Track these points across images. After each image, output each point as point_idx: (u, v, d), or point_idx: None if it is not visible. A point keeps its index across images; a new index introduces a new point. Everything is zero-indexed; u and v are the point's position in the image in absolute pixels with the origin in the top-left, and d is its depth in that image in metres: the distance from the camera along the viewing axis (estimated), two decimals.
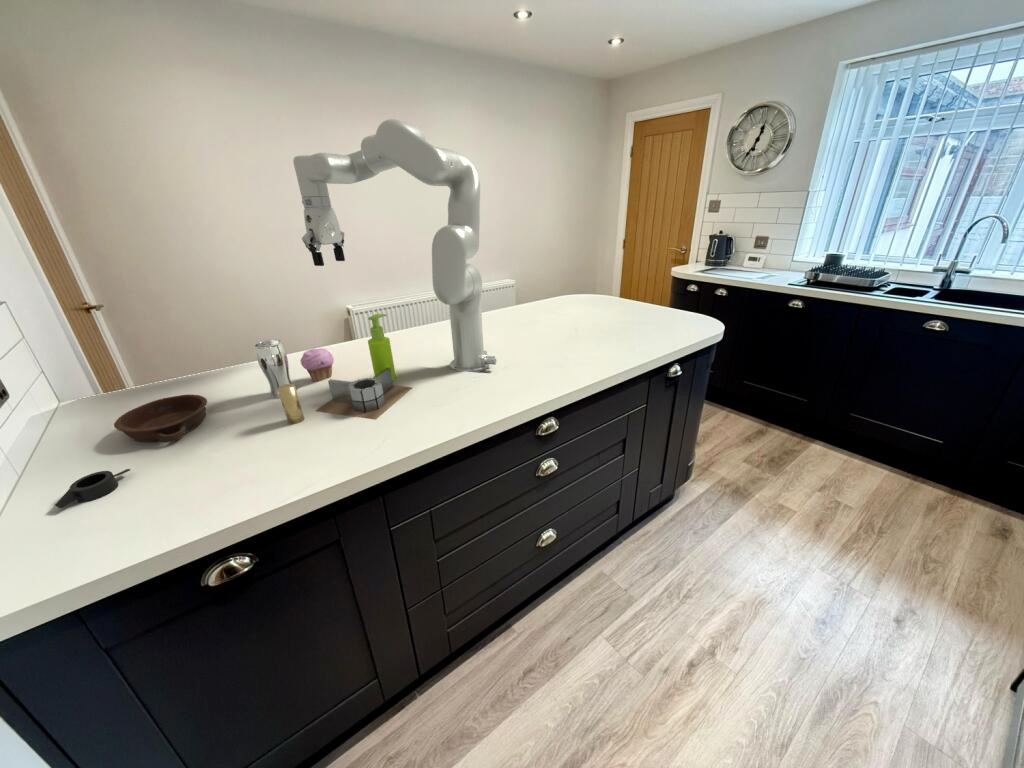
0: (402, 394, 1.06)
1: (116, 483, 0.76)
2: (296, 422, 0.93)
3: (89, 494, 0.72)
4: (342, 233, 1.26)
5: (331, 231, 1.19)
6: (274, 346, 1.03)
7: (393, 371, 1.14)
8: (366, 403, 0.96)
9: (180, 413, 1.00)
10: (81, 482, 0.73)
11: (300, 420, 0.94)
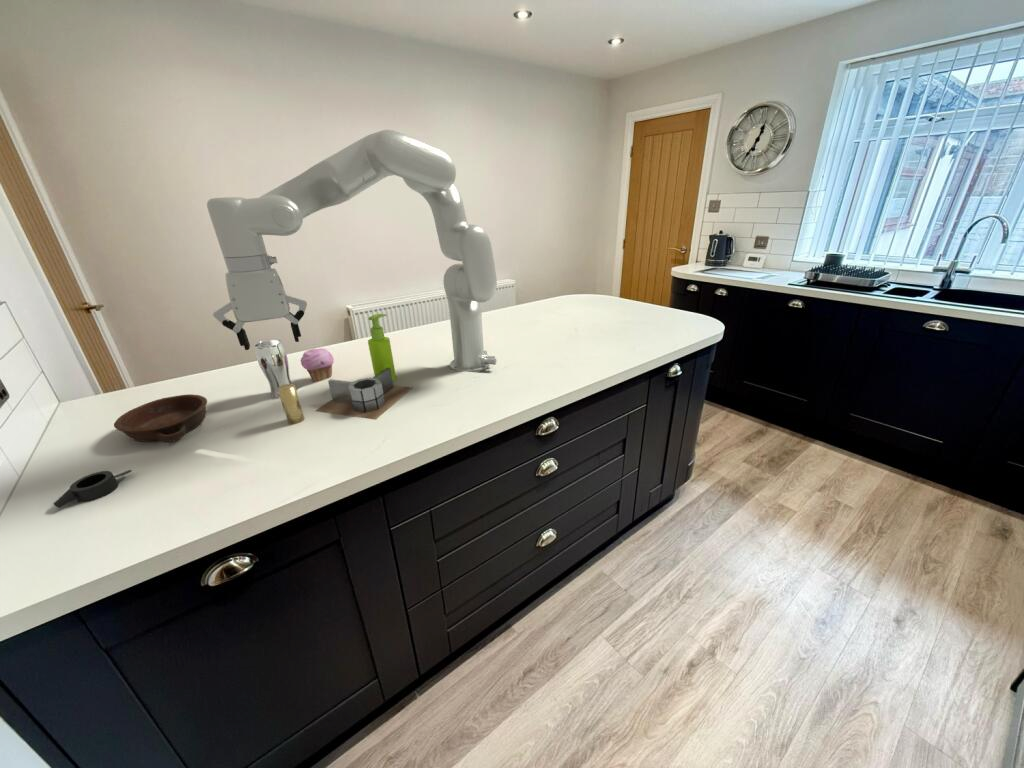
0: (402, 394, 1.06)
1: (115, 484, 0.75)
2: (296, 422, 0.93)
3: (86, 495, 0.71)
4: None
5: None
6: (274, 346, 1.03)
7: (393, 371, 1.14)
8: (366, 403, 0.96)
9: (180, 413, 1.00)
10: (82, 481, 0.74)
11: (300, 420, 0.94)
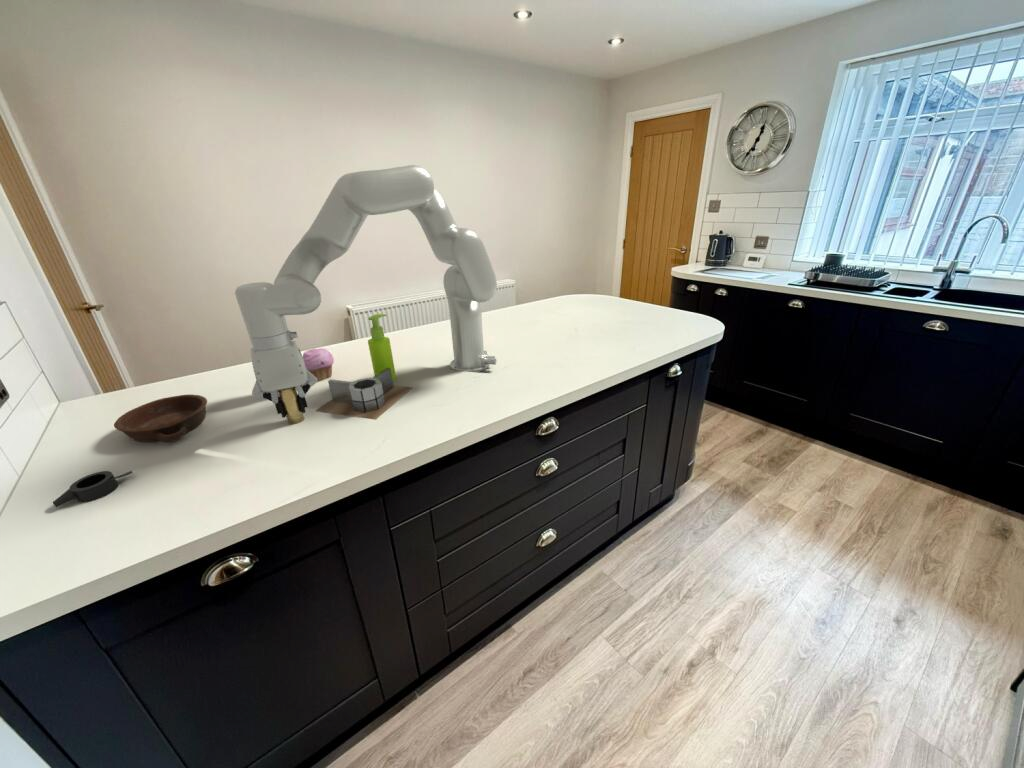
0: (402, 394, 1.06)
1: (114, 486, 0.75)
2: (296, 422, 0.93)
3: (83, 495, 0.71)
4: None
5: None
6: None
7: (393, 371, 1.14)
8: (366, 403, 0.96)
9: (180, 413, 1.00)
10: (84, 480, 0.74)
11: (300, 420, 0.94)
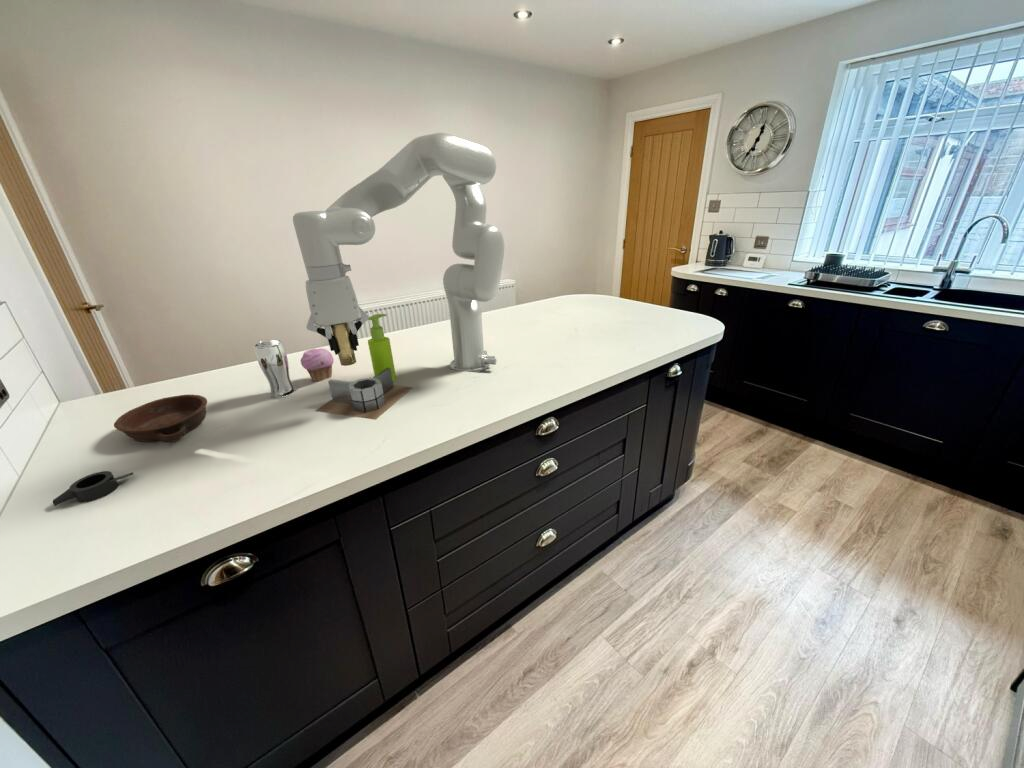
0: (402, 394, 1.06)
1: (112, 487, 0.74)
2: (348, 360, 0.93)
3: (81, 496, 0.71)
4: None
5: None
6: (274, 346, 1.03)
7: (393, 371, 1.14)
8: (366, 403, 0.96)
9: (180, 413, 1.00)
10: (86, 479, 0.74)
11: (352, 358, 0.93)
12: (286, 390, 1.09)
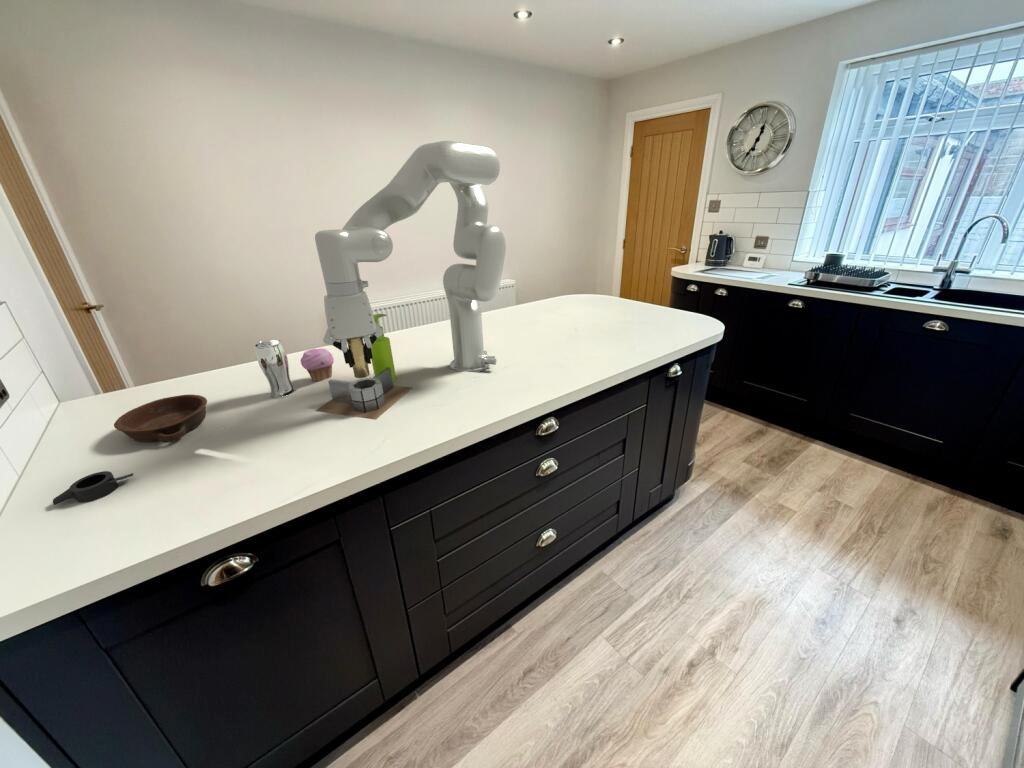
0: (402, 394, 1.06)
1: (111, 488, 0.74)
2: (362, 373, 0.95)
3: (79, 496, 0.71)
4: None
5: None
6: (274, 346, 1.03)
7: (393, 371, 1.14)
8: (366, 403, 0.96)
9: (180, 413, 1.00)
10: (87, 479, 0.74)
11: (366, 371, 0.95)
12: (286, 390, 1.09)
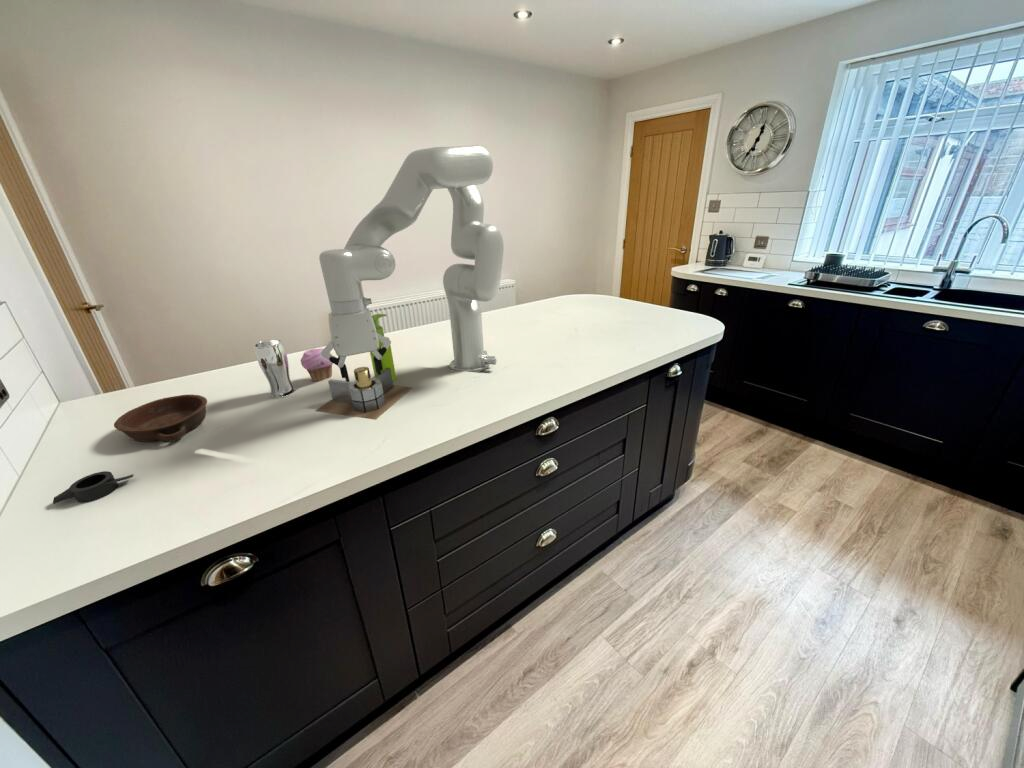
0: (402, 394, 1.06)
1: (110, 489, 0.74)
2: None
3: (78, 496, 0.71)
4: None
5: None
6: (274, 346, 1.03)
7: (393, 371, 1.14)
8: (366, 403, 0.96)
9: (180, 413, 1.00)
10: (88, 478, 0.74)
11: None
12: (286, 390, 1.09)
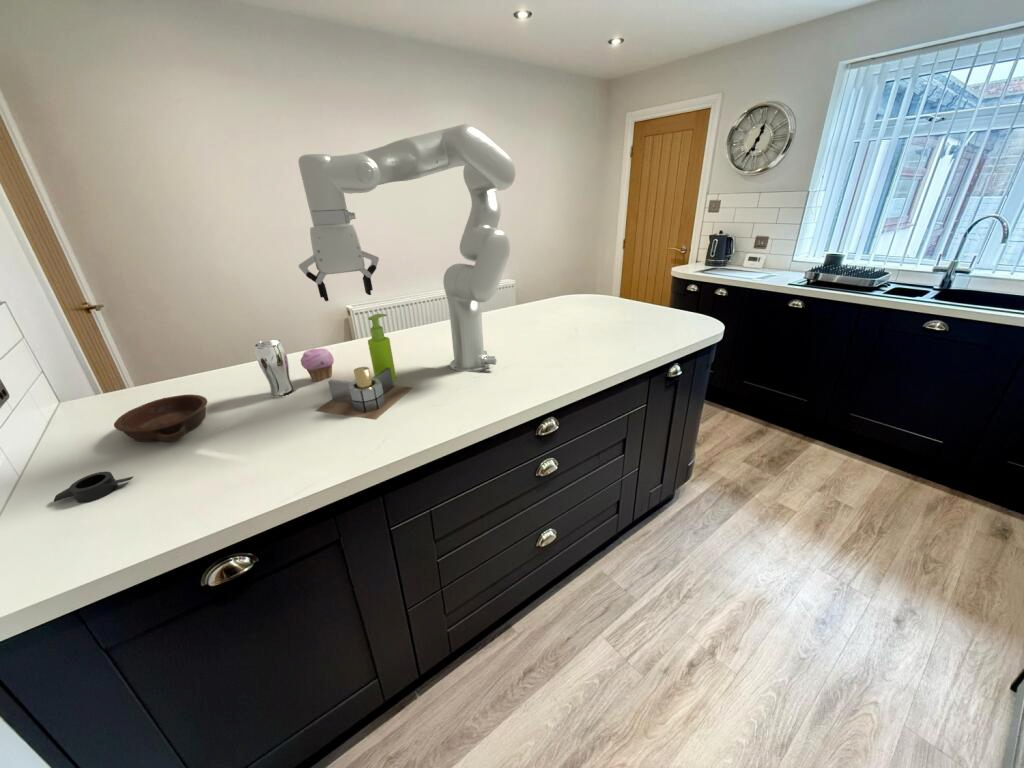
0: (402, 394, 1.06)
1: (107, 491, 0.73)
2: None
3: (75, 496, 0.71)
4: None
5: None
6: (274, 346, 1.03)
7: (393, 371, 1.14)
8: (366, 403, 0.96)
9: (180, 413, 1.00)
10: (90, 477, 0.74)
11: None
12: (286, 390, 1.09)
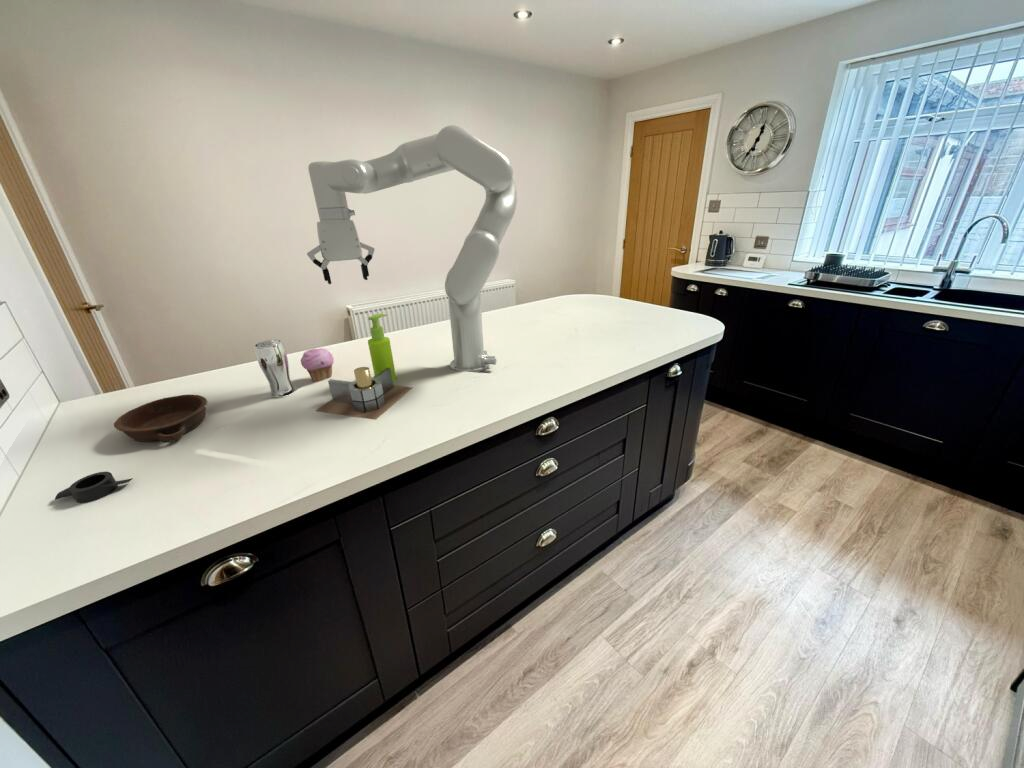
0: (402, 394, 1.06)
1: (105, 492, 0.73)
2: None
3: (74, 496, 0.71)
4: None
5: None
6: (274, 346, 1.03)
7: (393, 371, 1.14)
8: (366, 403, 0.96)
9: (180, 413, 1.00)
10: (92, 477, 0.75)
11: None
12: (286, 390, 1.09)
